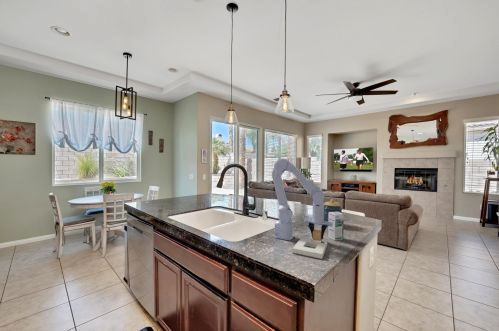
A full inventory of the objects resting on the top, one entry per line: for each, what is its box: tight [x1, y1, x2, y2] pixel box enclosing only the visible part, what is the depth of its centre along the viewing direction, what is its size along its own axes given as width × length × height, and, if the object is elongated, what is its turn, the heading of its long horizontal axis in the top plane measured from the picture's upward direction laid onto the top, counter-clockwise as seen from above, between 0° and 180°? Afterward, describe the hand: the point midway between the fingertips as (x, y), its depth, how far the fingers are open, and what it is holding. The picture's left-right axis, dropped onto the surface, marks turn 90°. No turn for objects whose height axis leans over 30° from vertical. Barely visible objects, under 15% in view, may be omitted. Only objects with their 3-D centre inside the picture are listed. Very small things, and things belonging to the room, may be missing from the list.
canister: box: [323, 198, 343, 221], centre depth 145 cm, size 13×13×18 cm
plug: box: [312, 228, 323, 241], centre depth 113 cm, size 4×6×6 cm
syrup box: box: [327, 212, 345, 241], centre depth 118 cm, size 6×6×14 cm
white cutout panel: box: [292, 237, 328, 260], centre depth 102 cm, size 13×16×3 cm
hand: (317, 238), depth 113 cm, fingers closed on plug, 4 cm apart
